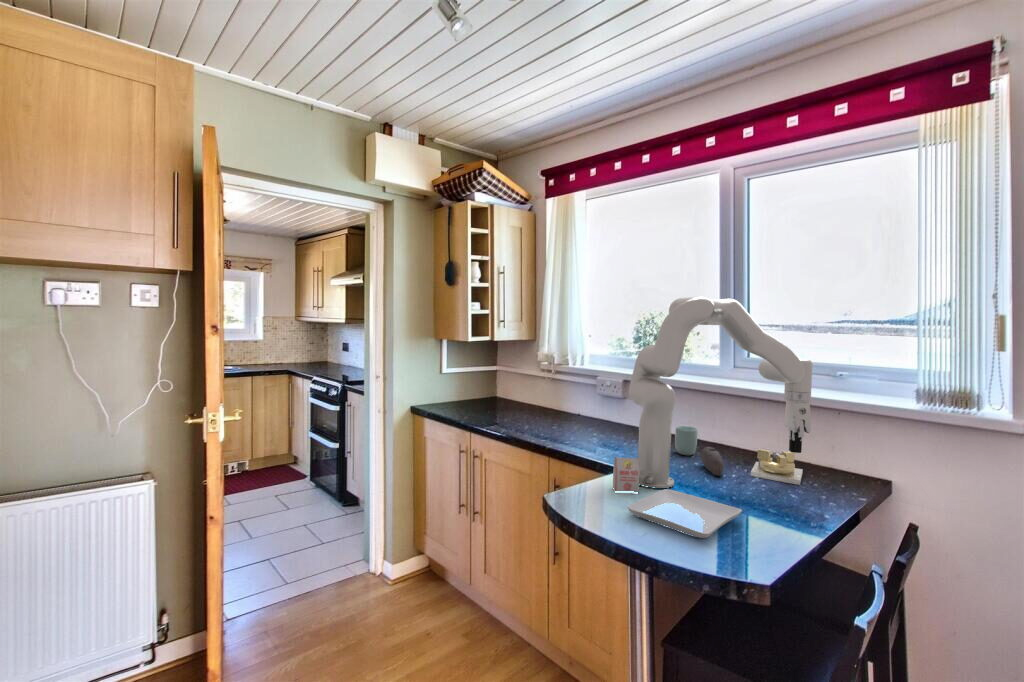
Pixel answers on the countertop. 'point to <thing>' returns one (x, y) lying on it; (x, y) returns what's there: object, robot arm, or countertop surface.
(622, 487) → the printed carton box
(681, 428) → the cup
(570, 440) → the countertop surface
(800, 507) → the countertop surface
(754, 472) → the housing
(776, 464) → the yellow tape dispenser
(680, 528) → the salad plate
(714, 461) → the brown oval lump
